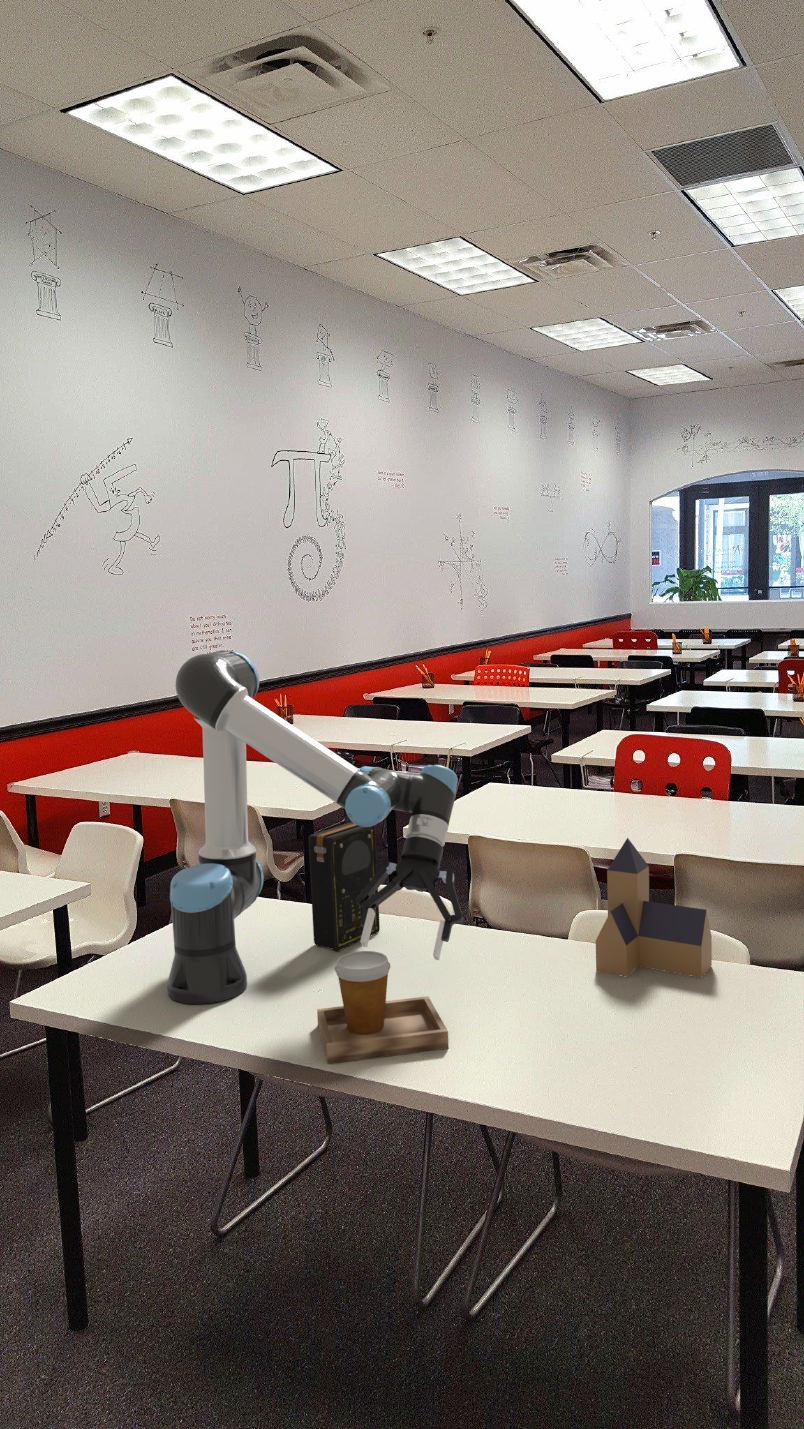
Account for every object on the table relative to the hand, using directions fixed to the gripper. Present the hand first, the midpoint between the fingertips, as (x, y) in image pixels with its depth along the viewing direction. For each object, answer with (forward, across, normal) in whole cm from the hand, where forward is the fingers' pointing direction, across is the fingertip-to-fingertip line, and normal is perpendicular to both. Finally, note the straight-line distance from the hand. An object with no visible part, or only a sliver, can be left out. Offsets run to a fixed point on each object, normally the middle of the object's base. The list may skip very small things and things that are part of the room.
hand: (399, 951), depth 181 cm
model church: (-12, +45, +25) cm, 53 cm away
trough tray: (+16, +1, -3) cm, 16 cm away
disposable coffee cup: (+15, -2, -2) cm, 15 cm away
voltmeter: (-10, -20, +35) cm, 41 cm away
